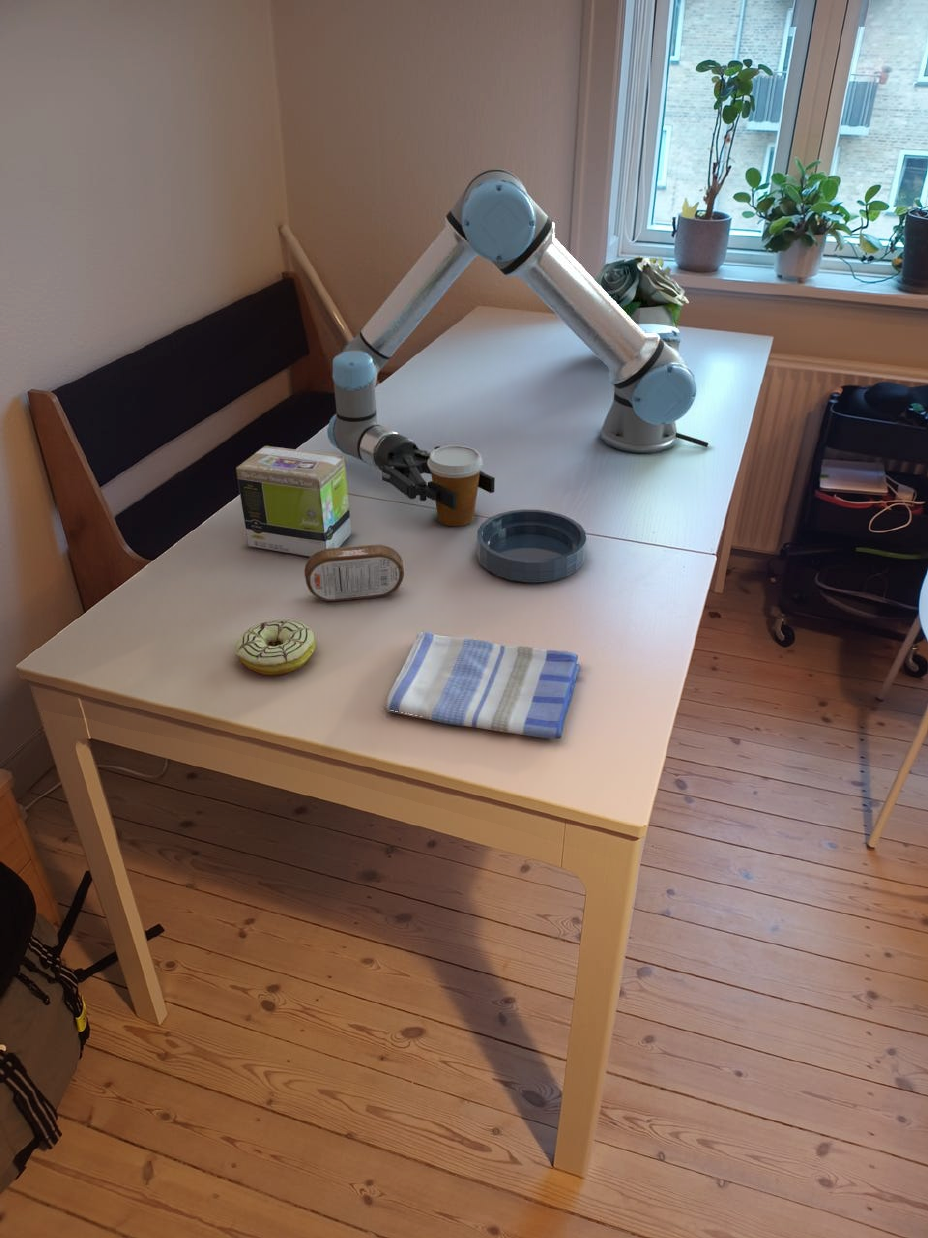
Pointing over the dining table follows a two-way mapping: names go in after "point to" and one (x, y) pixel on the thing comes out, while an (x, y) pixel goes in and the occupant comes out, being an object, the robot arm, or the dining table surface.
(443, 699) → the dish towel
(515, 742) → the dining table surface
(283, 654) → the decorated donut
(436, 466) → the disposable coffee cup
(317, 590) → the tin
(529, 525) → the bowl
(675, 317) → the flower arrangement
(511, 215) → the robot arm
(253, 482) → the tea box
